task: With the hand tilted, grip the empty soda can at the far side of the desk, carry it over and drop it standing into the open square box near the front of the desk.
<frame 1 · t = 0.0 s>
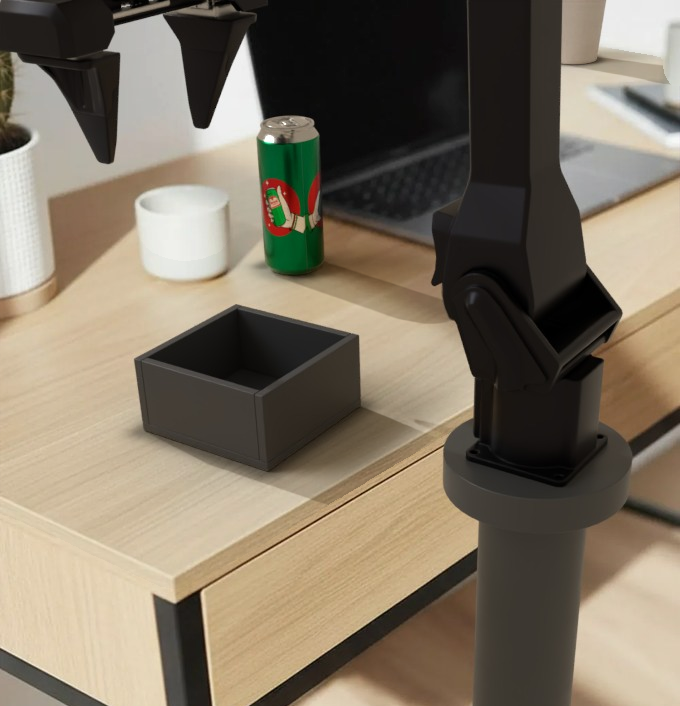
hand: (155, 144, 78), 16 cm above the table, tool pointing down, fingers open, 9 cm apart
open square box: (253, 417, 79), on the table
coffee cup: (572, 60, 165), on the table
soda can: (295, 268, 102), on the table
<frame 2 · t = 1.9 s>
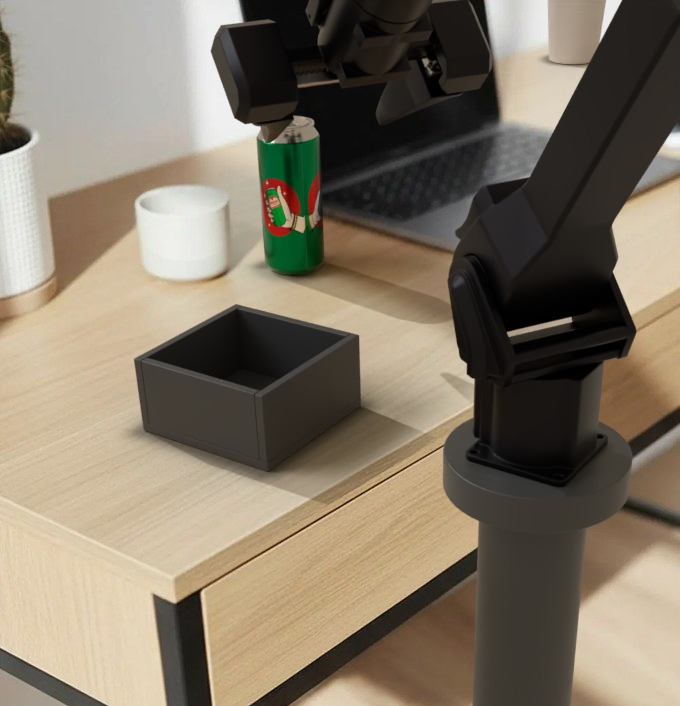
hand: (323, 128, 88), 13 cm above the table, tool tilted 45°, fingers open, 9 cm apart
nothing on the table moved.
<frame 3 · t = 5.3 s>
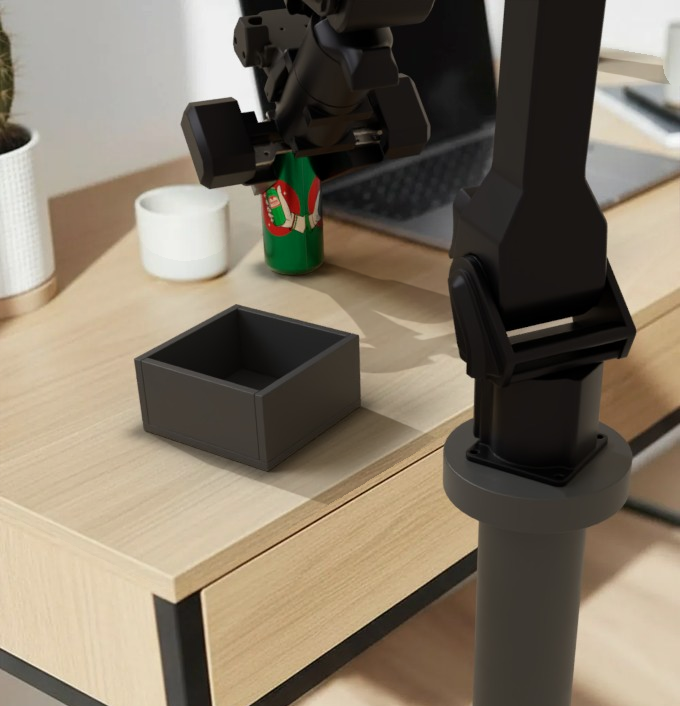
hand: (283, 185, 99), 7 cm above the table, tool tilted 45°, fingers closed on soda can, 5 cm apart
soda can: (294, 268, 102), on the table, touching gripper
everything else where it was.
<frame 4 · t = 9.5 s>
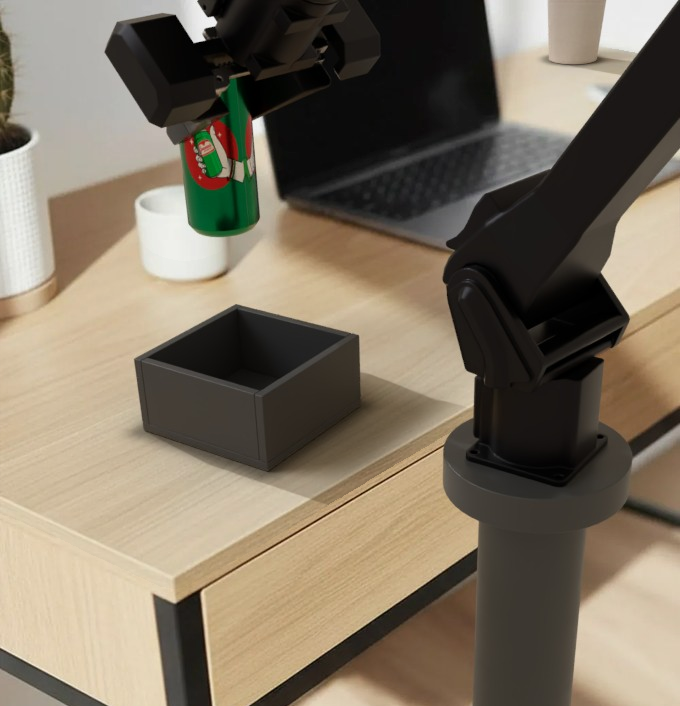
hand: (202, 130, 82), 15 cm above the table, tool tilted 45°, fingers closed on soda can, 5 cm apart
soda can: (225, 230, 85), point 8 cm above the table, touching gripper
everything else where it was.
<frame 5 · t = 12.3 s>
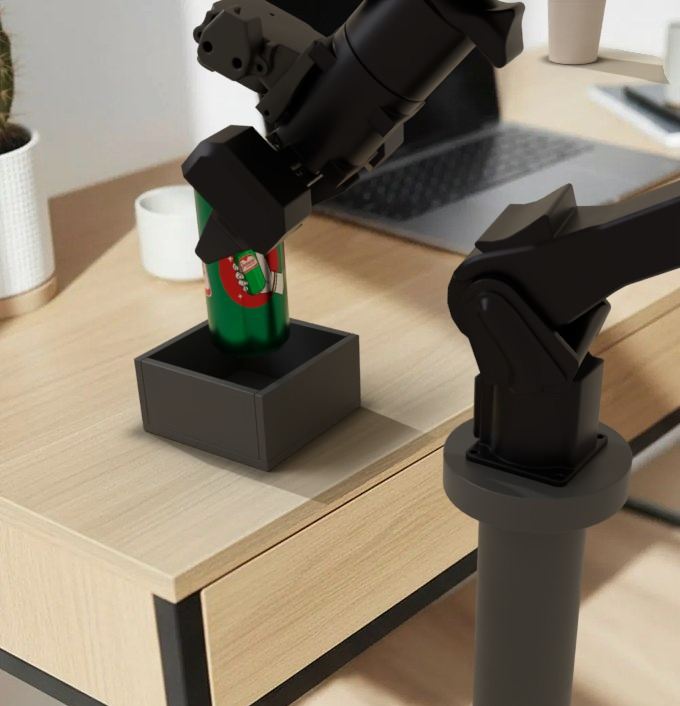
hand: (221, 243, 73), 12 cm above the table, tool tilted 45°, fingers closed on soda can, 5 cm apart
soda can: (251, 347, 76), point 5 cm above the table, touching gripper
everything else where it was.
when the fingers open (7 cm above the table, at t = 14.1 s): soda can stays where it is, resting on open square box.
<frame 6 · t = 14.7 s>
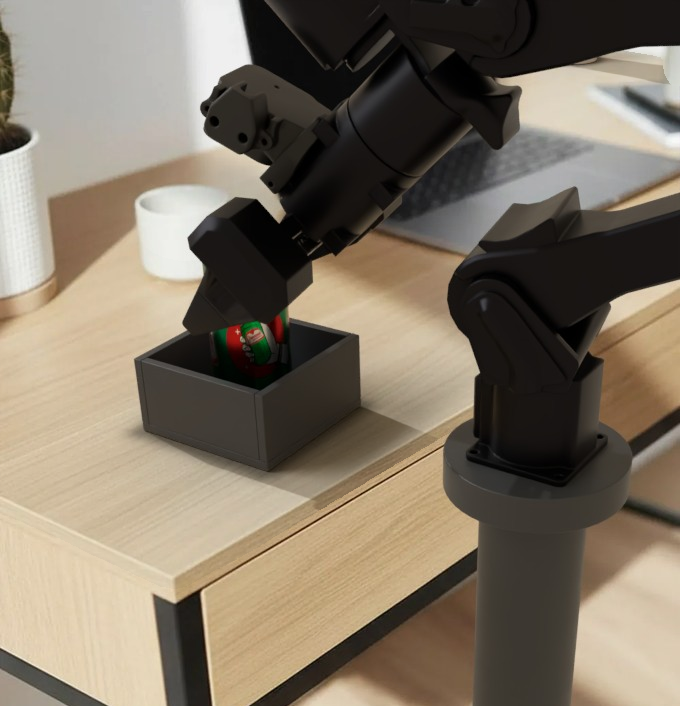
hand: (223, 300, 75), 8 cm above the table, tool tilted 45°, fingers open, 9 cm apart
soda can: (256, 412, 79), resting on open square box
everything else where it was.
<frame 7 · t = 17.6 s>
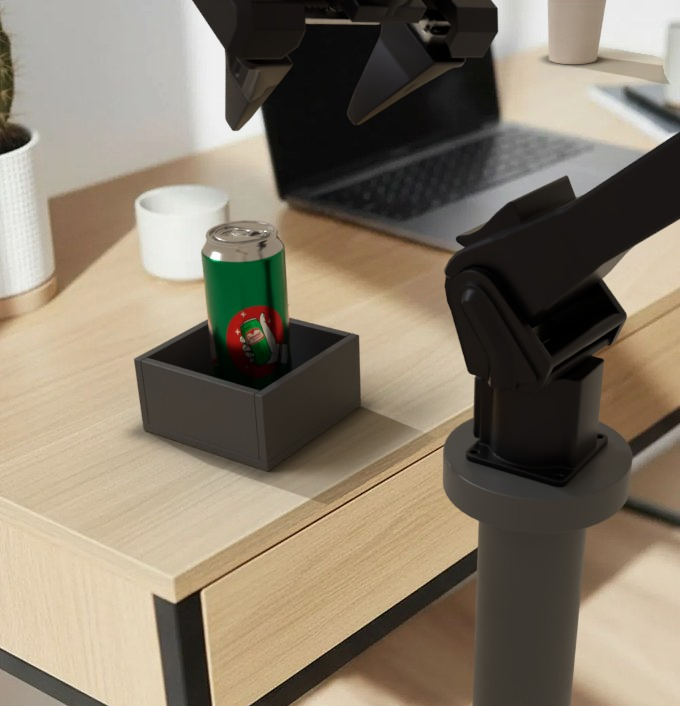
hand: (294, 122, 73), 18 cm above the table, tool tilted 35°, fingers open, 9 cm apart
nothing on the table moved.
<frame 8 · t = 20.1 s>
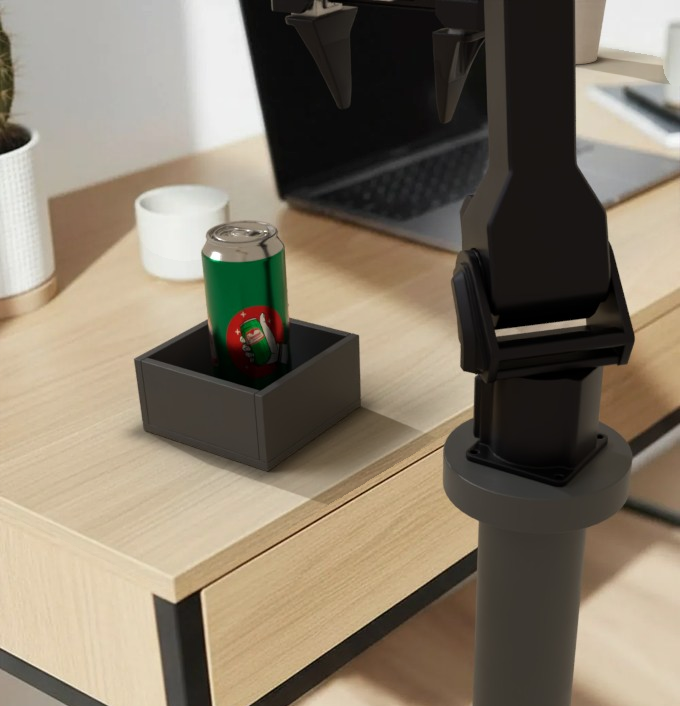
hand: (393, 114, 92), 13 cm above the table, tool pointing down, fingers open, 9 cm apart
nothing on the table moved.
at the end: soda can inside the target area in the open square box (0.2 cm from its centre), point 0.4 cm above the open square box's base; the gripper is holding nothing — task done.
